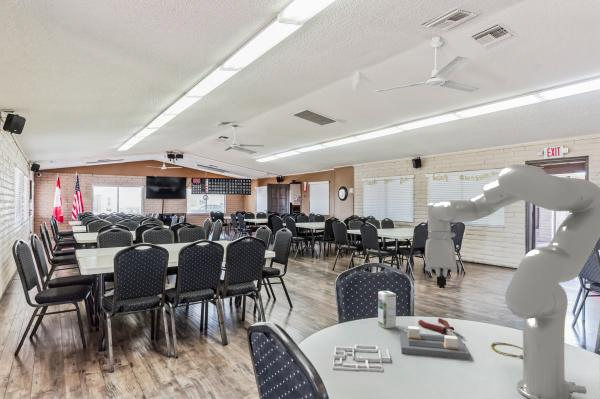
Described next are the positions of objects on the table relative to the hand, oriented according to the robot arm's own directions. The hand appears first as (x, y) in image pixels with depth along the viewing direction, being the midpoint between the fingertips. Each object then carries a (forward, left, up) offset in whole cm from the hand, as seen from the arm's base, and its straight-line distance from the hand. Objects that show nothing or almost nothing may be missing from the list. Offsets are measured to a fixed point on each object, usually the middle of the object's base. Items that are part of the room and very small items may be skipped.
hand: (441, 287), depth 129 cm
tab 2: (-3, +1, -20) cm, 20 cm away
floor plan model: (+28, +10, -23) cm, 38 cm away
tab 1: (+9, -6, -20) cm, 23 cm away
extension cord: (-25, -5, -23) cm, 34 cm away
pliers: (-2, -22, -23) cm, 32 cm away
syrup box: (+19, -22, -23) cm, 37 cm away
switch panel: (+3, -2, -23) cm, 23 cm away
